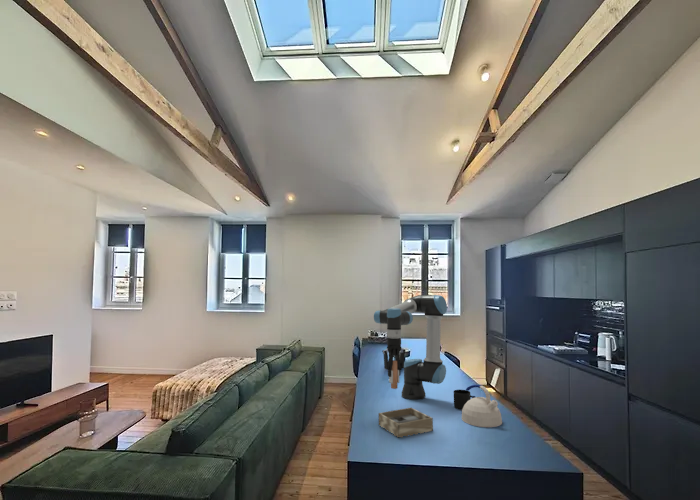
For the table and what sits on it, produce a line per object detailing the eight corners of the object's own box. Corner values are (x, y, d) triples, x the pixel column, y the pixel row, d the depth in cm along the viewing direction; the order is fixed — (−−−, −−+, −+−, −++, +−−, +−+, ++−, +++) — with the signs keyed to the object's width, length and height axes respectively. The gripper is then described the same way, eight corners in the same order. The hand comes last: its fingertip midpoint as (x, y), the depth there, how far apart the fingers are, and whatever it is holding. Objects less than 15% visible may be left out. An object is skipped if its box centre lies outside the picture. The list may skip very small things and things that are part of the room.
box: (378, 425, 192) (378, 413, 193) (411, 419, 201) (411, 407, 202) (398, 438, 176) (398, 424, 177) (432, 430, 185) (432, 417, 186)
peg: (389, 387, 202) (389, 360, 203) (395, 387, 203) (395, 360, 205) (393, 389, 199) (393, 361, 200) (398, 388, 200) (398, 361, 202)
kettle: (482, 430, 185) (481, 392, 187) (453, 417, 204) (452, 383, 206) (511, 423, 195) (510, 387, 197) (480, 412, 213) (479, 379, 215)
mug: (476, 411, 215) (476, 394, 215) (454, 409, 217) (454, 393, 218) (474, 405, 224) (473, 390, 225) (453, 404, 226) (452, 389, 227)
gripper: (384, 338, 197) (384, 385, 194) (410, 337, 204) (411, 382, 201) (377, 337, 204) (377, 382, 201) (403, 336, 211) (403, 379, 208)
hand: (394, 382), depth 201 cm, fingers closed on peg, 3 cm apart
